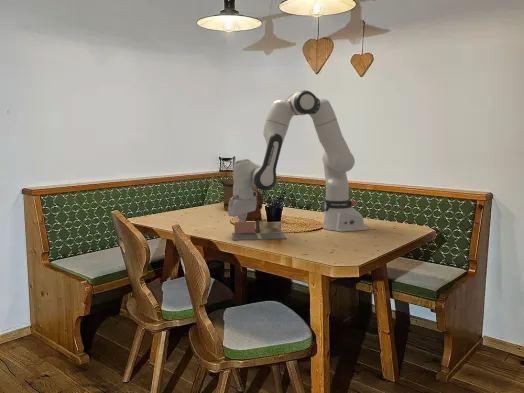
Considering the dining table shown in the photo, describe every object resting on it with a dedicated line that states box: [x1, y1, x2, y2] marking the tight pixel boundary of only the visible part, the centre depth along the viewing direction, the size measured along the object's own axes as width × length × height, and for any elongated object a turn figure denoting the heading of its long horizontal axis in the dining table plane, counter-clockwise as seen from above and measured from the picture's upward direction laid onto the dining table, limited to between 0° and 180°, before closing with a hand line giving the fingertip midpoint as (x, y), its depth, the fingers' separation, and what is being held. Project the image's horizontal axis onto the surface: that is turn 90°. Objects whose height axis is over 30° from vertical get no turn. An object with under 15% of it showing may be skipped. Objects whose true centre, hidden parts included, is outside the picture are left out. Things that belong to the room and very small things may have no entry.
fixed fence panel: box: [255, 220, 282, 233], centre depth 223 cm, size 12×2×6 cm, turn 96°
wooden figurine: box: [246, 186, 263, 222], centre depth 253 cm, size 12×6×18 cm, turn 134°
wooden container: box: [223, 177, 234, 212], centre depth 285 cm, size 15×15×22 cm
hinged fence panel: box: [234, 221, 256, 233], centre depth 222 cm, size 10×1×5 cm, turn 96°
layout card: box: [231, 230, 287, 241], centre depth 219 cm, size 24×13×1 cm, turn 96°
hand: (242, 222), depth 227 cm, fingers closed
